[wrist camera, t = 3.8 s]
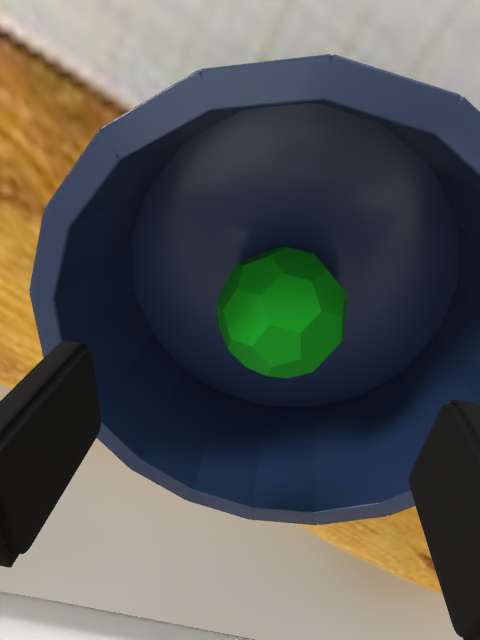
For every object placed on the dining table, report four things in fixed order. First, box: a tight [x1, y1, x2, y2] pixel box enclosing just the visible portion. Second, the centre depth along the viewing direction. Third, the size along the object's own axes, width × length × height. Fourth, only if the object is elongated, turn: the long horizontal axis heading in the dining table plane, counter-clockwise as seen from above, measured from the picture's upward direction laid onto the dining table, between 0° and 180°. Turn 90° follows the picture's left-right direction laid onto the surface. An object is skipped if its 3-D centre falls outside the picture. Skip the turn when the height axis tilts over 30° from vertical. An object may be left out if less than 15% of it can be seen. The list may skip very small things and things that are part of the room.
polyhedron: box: [217, 247, 347, 378], centre depth 15 cm, size 5×5×5 cm
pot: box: [30, 54, 480, 525], centre depth 14 cm, size 16×16×6 cm
